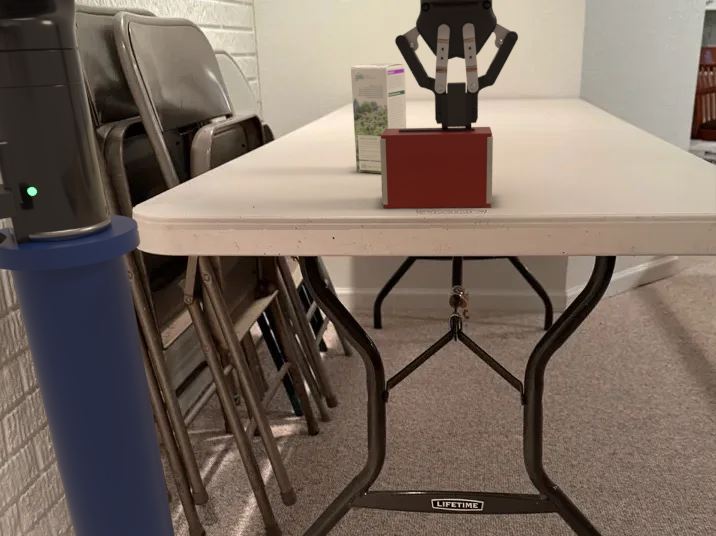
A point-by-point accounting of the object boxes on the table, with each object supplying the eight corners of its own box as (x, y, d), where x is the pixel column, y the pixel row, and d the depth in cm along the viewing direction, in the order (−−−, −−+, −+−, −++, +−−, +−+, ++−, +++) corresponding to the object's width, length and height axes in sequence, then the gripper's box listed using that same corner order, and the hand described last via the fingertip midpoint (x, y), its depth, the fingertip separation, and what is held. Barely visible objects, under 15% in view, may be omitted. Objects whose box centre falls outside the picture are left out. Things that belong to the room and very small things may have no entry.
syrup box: (409, 168, 105) (406, 62, 100) (389, 175, 100) (385, 64, 95) (375, 166, 108) (371, 63, 102) (354, 172, 103) (349, 65, 97)
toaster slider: (447, 127, 79) (447, 83, 77) (447, 124, 81) (447, 82, 79) (465, 126, 78) (465, 83, 77) (465, 124, 81) (465, 82, 79)
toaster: (382, 208, 81) (379, 133, 78) (387, 197, 86) (385, 126, 83) (491, 207, 80) (493, 131, 77) (489, 195, 85) (490, 124, 82)
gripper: (384, -48, 70) (391, 134, 77) (527, -54, 69) (522, 130, 76) (391, -40, 77) (397, 126, 84) (521, -46, 76) (517, 122, 83)
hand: (456, 127), depth 80 cm, fingers closed on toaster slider, 2 cm apart
